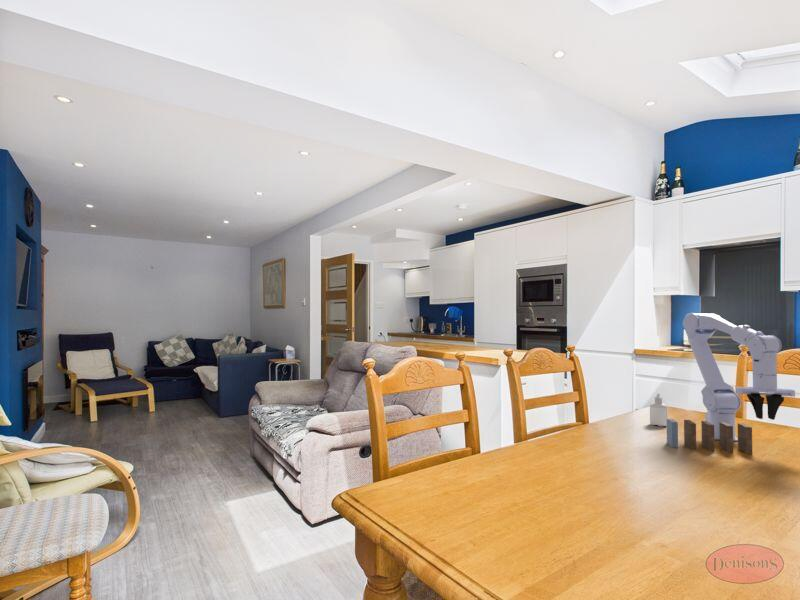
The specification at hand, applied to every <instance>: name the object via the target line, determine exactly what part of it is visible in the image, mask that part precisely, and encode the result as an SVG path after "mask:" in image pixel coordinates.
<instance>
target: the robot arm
mask: <svg viewBox="0 0 800 600" xmlns="http://www.w3.org/2000/svg"><path fill="white" fill-rule="evenodd" d="M682 326H683V328H684V331H685V333H686V335H687V340H688V343H689V345H690V348H691V350H692V351H691V352H692V354H693V356H694V358H695V361H696V363H697V366H698V368H699V370H700V373H701V375H702V378H703V381H704V383H705V385H704V387H703V388H702V389H701V391H700V393H701V395H702V403H703V405H704V407H705V408H706V410H707V411H706V412H705V416H704V421H708V422H710V423H711V424H713V425H714V440H719V441H720V434H719V422H726V423H728V424H730V425H731V426H733V442H735V441H736V442H738V436H736V413H738V411H739V409H740V408H741V407H742V399H741V397H740V395H746V397H747V399H748V400H749V402H750V404H751V405H752V406H751V407H752V408H753V410H754V414H755V417H756V418H757V419H759V420H763V418H764V410H763V409H764V402H765V401H766V405H767V417H768V419H769V420H772V421H773V420H775V419H776V416H777V412H778V410H779V408H780V407H781V405H782V403H784V402H785V397H791V398H792V397H796V390H794V389H792V388H791V389H788V388H778V376H777V375H778V369H777V368H778V366H777V365H778V364H777V362H778V361H777V360H778V358H777V354H778V353H780V352H781V350H782V347H783V345H782V341H781V339H780V338H778V337H777V336H776V335H775V334H769V335H766V334H764V333H763V332H762V331H760V330H755V329H753V328H751V325H749V324H741V325H736V324H734V323H732V322H729V321H728V320H727V319H724V318H722V317H721V315H719V314H716V313H714V312H711V313H696V312H695V313H694V312H689V313H686V315H685V316H684V318H683V321H682ZM717 330H718V331H721V332H723V333H725V334H727V335H730V338H731V340H732V341H734V342H737V343H738V344H740V345H742V346H744V347H746V348H747V349H748V351H749V353H750V358H751V359H752V386H736V387H735V389H734V387H733V386H731V385H730V384H728V383H727V382H725V380H724V378H723V376H722V374H721V371H720V368H719V366H718V364H717V361H716V358H715V356H714V355H713V351H712V349H711V348H710V344H709V342H708V340H709V339H710V338H712V337H713V335H714V334H715V332H716V331H717ZM763 396H765V397H763ZM765 398H766V400H765Z"/></svg>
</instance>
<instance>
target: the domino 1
mask: <svg viewBox="0 0 800 600" xmlns="http://www.w3.org/2000/svg"><path fill="white" fill-rule="evenodd" d="M678 432H679V422H677V421H676V420H674V418H667V426H666V444H667V443H668V444H667V445H668V446H670V445H671V446H672V447H677V448H676V449H679V433H678ZM671 446H670V447H671ZM672 447H671V448H672Z"/></svg>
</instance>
